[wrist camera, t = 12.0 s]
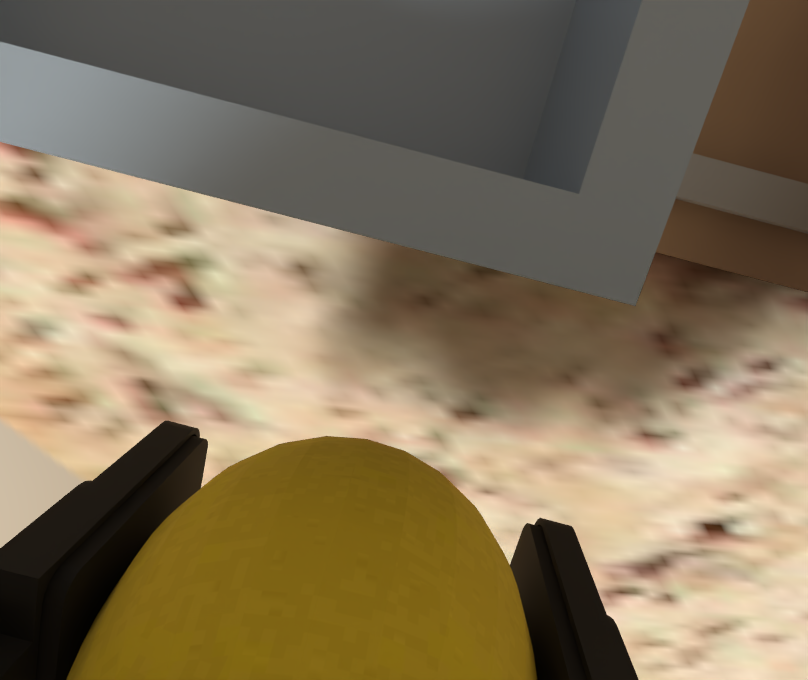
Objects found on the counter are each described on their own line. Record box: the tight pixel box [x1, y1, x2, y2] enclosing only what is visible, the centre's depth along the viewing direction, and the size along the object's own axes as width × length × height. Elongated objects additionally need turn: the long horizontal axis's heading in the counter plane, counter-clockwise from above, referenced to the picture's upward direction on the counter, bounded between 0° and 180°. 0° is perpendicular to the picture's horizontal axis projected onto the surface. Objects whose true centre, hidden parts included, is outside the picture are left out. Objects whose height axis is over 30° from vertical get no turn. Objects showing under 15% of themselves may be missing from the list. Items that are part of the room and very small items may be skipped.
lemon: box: [66, 436, 537, 680], centre depth 7 cm, size 6×6×8 cm
